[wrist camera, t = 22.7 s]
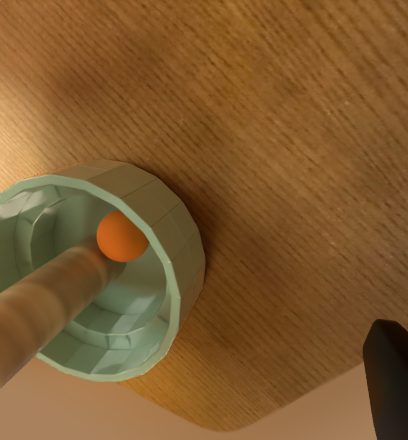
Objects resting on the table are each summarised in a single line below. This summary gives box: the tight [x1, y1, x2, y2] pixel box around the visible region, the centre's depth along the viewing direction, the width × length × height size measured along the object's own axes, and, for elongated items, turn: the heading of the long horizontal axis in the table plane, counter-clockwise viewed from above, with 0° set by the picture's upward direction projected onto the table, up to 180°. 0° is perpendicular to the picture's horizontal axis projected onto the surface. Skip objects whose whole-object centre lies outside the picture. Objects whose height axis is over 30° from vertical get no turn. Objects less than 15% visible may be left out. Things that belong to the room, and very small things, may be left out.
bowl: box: [0, 158, 206, 382], centre depth 22 cm, size 12×12×5 cm
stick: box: [0, 233, 126, 388], centre depth 18 cm, size 3×3×13 cm
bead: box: [97, 210, 150, 262], centre depth 21 cm, size 3×3×3 cm
